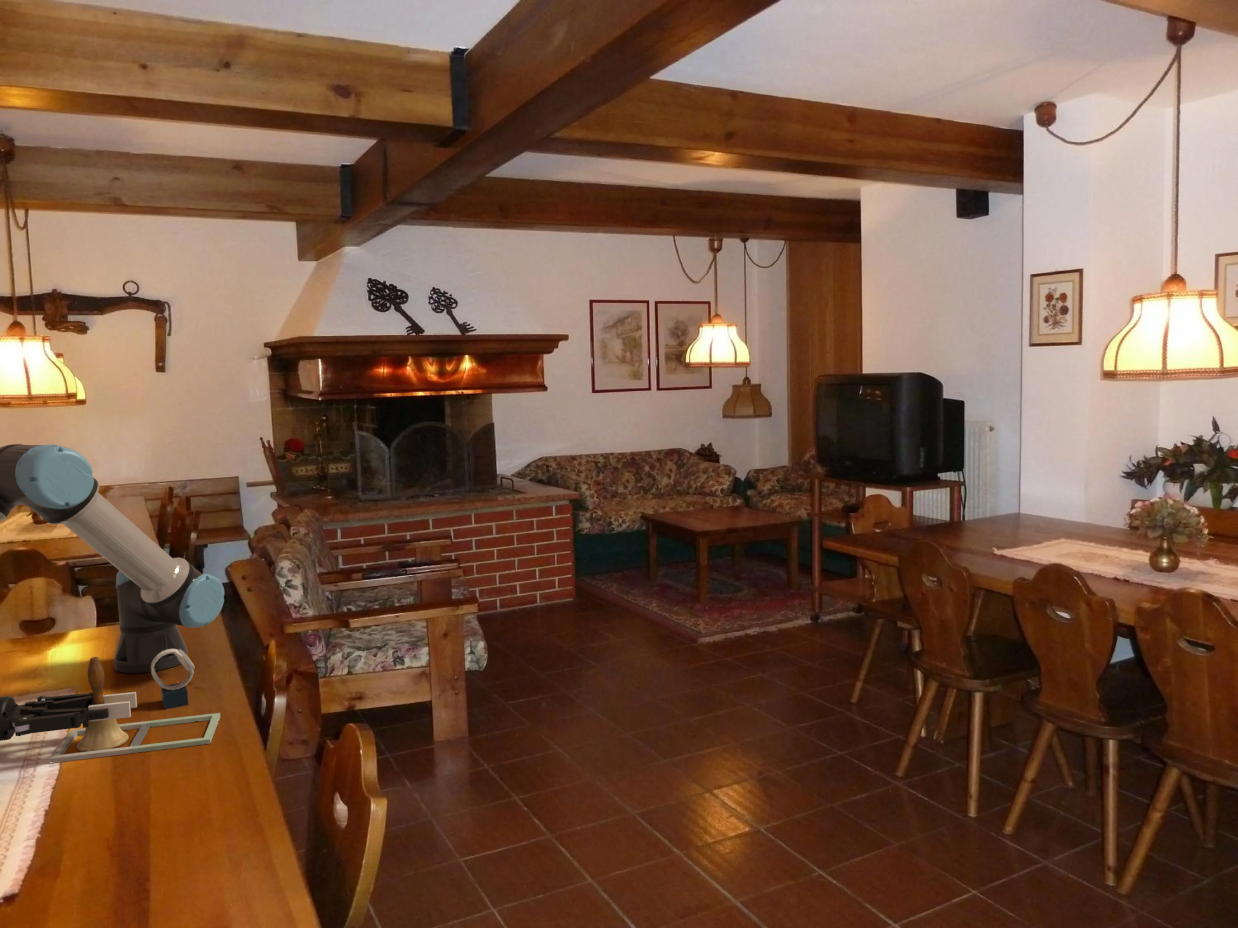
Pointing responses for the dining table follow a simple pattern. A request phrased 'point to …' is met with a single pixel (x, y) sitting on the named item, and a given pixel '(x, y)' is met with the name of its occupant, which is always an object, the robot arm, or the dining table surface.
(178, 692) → the watch
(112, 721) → the hand bell
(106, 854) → the dining table surface
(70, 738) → the window frame
